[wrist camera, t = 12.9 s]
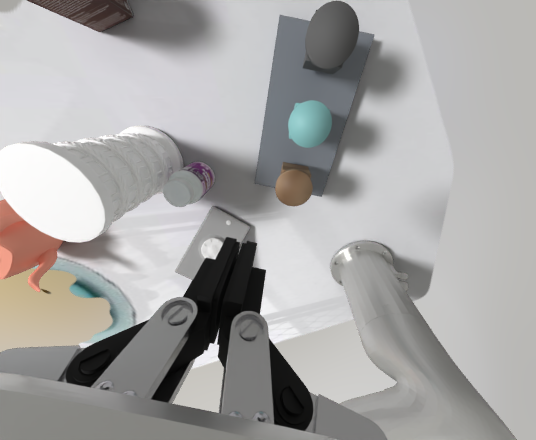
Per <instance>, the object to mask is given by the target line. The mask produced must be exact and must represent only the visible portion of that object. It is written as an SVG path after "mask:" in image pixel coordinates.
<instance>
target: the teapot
mask: <svg viewBox="0 0 536 440" xmlns="http://www.w3.org/2000/svg"><path fill="white" fill-rule="evenodd" d="M63 241H64V240H60V239H56V238H54V237H51V236H49V235H47V234H45V233H43V232H41V231H39V230H38V229H36V228H35V227H33V226H32V225H30V224H29V223H28V222H26V221H25V220H24V219H23V218H22V217H21V216H19V215H18V214H17V213H16V212H15V211H14V209H13V208H12V207H11V206H10V205H9V204H8V203H7V201H6V200H2V201H0V279H5V278H8V277H11V276H13V275H16V274H19V273H21V272H24V271H26V270H28V269H30V268H33V267H35V266H37V265H39V266H38V268H37V269H36V270H35V271H34V272H33V273H32V274H31V275H30V276H29V278H28V284H29V285H30V286H31V287H32V288H33V289H34V290H36V291H38V292H40V288H39V280H40V278H41V277H42V276H43V274H45V273H46V272H47V271H48V270H49V269H50V268H51V267H52V266H53V265H54V263H55V262H56V259H57V252H56V251H57V250H58V249H59V247H60V246H61V244H62V243H63Z"/></svg>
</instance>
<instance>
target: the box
mask: <svg viewBox="0 0 536 440" xmlns="http://www.w3.org/2000/svg"><path fill="white" fill-rule="evenodd" d="M27 1H29V2H32V3H34V4H36V5H39V6H41V7H43V8H45V9H48V10H50V11H52V12H55V13H57V14H59V15H61V16H64V17H66V18H68V19H71V20H73V21H75V22H77V23H80V24H82V25H84V26H87V27H89V28H91V29H93V30H96V31H98V32H101V31H103V30H106V29H108V28H110V27H112V26H114V25H117V24H119V23H121V22H123V21H125V20H127V19H129V18H132V17H133V14H132V10H131V8H130V6H129V3H128V1H127V0H27Z"/></svg>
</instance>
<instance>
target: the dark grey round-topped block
mask: <svg viewBox="0 0 536 440" xmlns="http://www.w3.org/2000/svg"><path fill="white" fill-rule="evenodd" d="M358 35H359V23H358V19H357V16H356V13H355V12H354V10H353V9H352V8H351V6H349V5H348V4H347V3H345V2H342V1H332V2H329V3H326V4H325V5H323V6H322V7H321V8H319V9H318V10H316V12H315V14H314V16H313V17H312V19H311V21H310V23H309V26H308V29H307V33H306V38H305V48H306V53H305V58H304V63H303V68H304V69H309V70H314V71H318V72H323V73H328V74H334V73H336V72H337V71H338V70H340V69H341V68H342V66H343V63H344V62H345V61H346V60H347V59H348V58H349V56H350V55H351V54H352V52H353V50H354V48H355V46H356V43H357V40H358Z"/></svg>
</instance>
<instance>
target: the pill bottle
mask: <svg viewBox="0 0 536 440" xmlns="http://www.w3.org/2000/svg"><path fill="white" fill-rule="evenodd" d="M214 180H215V177H214V173H213V170H212V169H211V168H210V167H209V166H208V165H207V164H205V163H203V162H193V163H191V164H189V165H187V166H185V167H184V168H182V169H180V170H178V171H176V172H175V173H173V174H172V175H171V176H170V178H169V180H168V182H167V183H166V184H165V186H164V188H163V193H164V196H165V198H166V200H167V201H168V202H169V203H170V204H172V205H173V206H176V207H184V206H186V205H187V204H192V203H195V202H197V201H198V200H199V199H200V198H201V197H202V196H203V195H204V194H205V193H206V192H207V191H208V190H209V189H210V188H211V187H212V186H213V184H214Z"/></svg>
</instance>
